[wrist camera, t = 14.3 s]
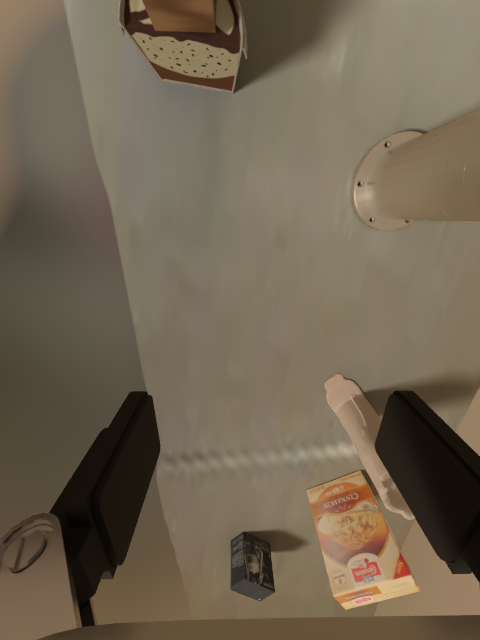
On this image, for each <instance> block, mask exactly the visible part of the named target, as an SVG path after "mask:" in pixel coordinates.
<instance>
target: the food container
mask: <svg viewBox="0 0 480 640" xmlns="http://www.w3.org/2000/svg"><path fill="white" fill-rule="evenodd" d="M118 21H119V28H120V31H121V33H122V35H123V36H124V30H125V32H126V33H127V34H128V36H129V37H130V39H131V40H132V41H133V43H134V44H135V45H136V47H137V48H138V50H139V51H140V52H141V54H142V55H143V56H144V58H145V59H146V61H147V62H148V63H149V65H150V66H151V67H152V69H153V70H154V72H155V73H156V74H157V76H158V77H159V78H160V80H161V81H167V82H172V83H178V84H184V85H189V86H195V87H200V88H206V89H212V90H217V91H223V92H228V93H234V88H235V83H236V78H237V73H238V68H239V63H240V58H241V53H242V50H243V51H244V55H245V58H246V59H247V50H248V44H247V31H246V26H245V21H244V16H243V12H242V8H241V5H240V2H239V0H215V21H216V33H209V32H178V31H155V29H154V27H153V24H152V22H151V20H150V17H149V15H148V13H147V11H146V8H145V6H144V4H143V1H142V0H120V2H119V13H118Z"/></svg>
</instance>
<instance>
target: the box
mask: <svg viewBox="0 0 480 640" xmlns="http://www.w3.org/2000/svg"><path fill="white" fill-rule="evenodd" d="M230 590H232V591H235V592H238V593H240V594H243V595H245V596H248V597H250V598H253V599H255V600H258V601H262V600H263V599H265V598H266V597H268V596H269V595H271V594H273V593H274V592H275V589H274V580H273V570H272V561H271V552H270V544H268V543H266V542H264V541H262V540H260V539H257V538H255V537H253V536H251V535H249V534H247V533H245V532H243V533H241V534H240V535H239V536H237V537H236V538H235V539H233V540H232V541H231V566H230Z"/></svg>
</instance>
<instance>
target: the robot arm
mask: <svg viewBox="0 0 480 640" xmlns="http://www.w3.org/2000/svg"><path fill="white" fill-rule="evenodd" d="M384 144H385V145H386V146H384ZM358 183H359V186H358ZM352 202H353V206H354V209H355V212H356V214H357V215H358V217H359V218H360V219H361V221H362V222H363V223H364V224H366V225H368V226H369V227H371V228H374V229H377V230H383V231H392V230H397V229H401V228H403V227H406V226H408V225H410V224H412V223H413V222H415V221H416V220H428V221H480V109H479V110H477V111H475V112H473V113H471V114H468V115H466V116H464V117H462V118H459V119H457V120H455V121H453V122H450V123H448V124H446V125H444V126H441V127H439V128H437V129H435V130H432V131H430V132H428V133H426V134H422V133H420V132H415V131H404V132H399V133H396V134H393V135H391V136H389V137H387V138H385V139H383V140H382V141H380V142H379V143H377V144H376V145H375V146H374V147H373V148H372V149H371V150H370V151H369V152H368V153H367V154H366V155H365V157H364V158H363V159H362V161H361V163H360V165H359V166H358V168H357V171H356V173H355V176H354V180H353V185H352ZM370 219H371V220H370ZM369 220H370V221H369ZM405 220H406V221H405ZM375 450H376V453H377V455H378V456H379V458H380V460H381V461H382V463H383V465H384V466H385V468H386V470H387V472H388V473H389V475H390V477H391V478H392V480H393V482H394V483H395V485H396V487H397V488H398V490H399V492H400V493H401V495H402V497H403V498H404V500H405V502H406V503H407V505H408V507H409V509H410V510H411V512H412V514H413V515H414V517H415V519H416V520H417V522H418V524H419V525H420V527H421V528H422V530H423V532H424V534H425V535H426V537H427V539H428V540H429V542H430V544H431V545H432V547H433V549H434V550H435V552H436V554H437V555H438V556H439V557H440V559H442V560H443V561H445V562H446V564H447V565H448V567H449V569H450V570H451V572H452V574H470V573H471V572H473V574H474V575H475V577H476V578H477V580H478V581H479V585H480V456H478V454H477V453H476V452H475V451H474V450H473V449H471V448H470V447H469V446H468V445H467V444H466V443H465V442H464V441H463V440H462V439H461V438H460V437H459V436H458V435H457V434H456V433H455V432H454V431H453V430H452V429H451V428H450V427H449V426H448V425H447V424H446V423H445V422H444V421H443V420H442V419H441V418H440V417H439V416H438V415H437V414H436V413H435V412H434V411H433V410H432V409H431V408H430V407H429V406H428V405H427V404H426V403H425V402H424V401H423V400H422V399H421V398H420V397H419V396H418V395H417V394H416V393H414V392H413V391H395V392H393V394H392V395H390V396H389V399H388V402H387V405H386V408H385V412H384V415H383V418H382V421H381V424H380V428H379V431H378V434H377V437H376V441H375ZM159 453H160V440H159V434H158V428H157V422H156V416H155V410H154V404H153V398H152V396H151V395H148V393H147V392H144V391H143V392H141V391H140V392H139V391H132V392H130V393H129V394H128V396H127V398H126V399H125V401H124V402H123V404H122V406H121V407H120V409H119V411H118V412H117V414H116V416H115V417H114V419H113V421H112V422H111V424H110V426H109V427H108V428H104V429H103V430H102V431H101V432H100V433H99V435H98V436H97V438H96V440H95V441H94V443H93V444H92V446H91V448H90V449H89V450H88V452H87V454H86V455H85V457H84V458H83V460H82V461H81V463H80V465H79V466H78V468H77V469H76V471H75V473H74V474H73V476H72V477H71V479H70V480H69V482H68V483H67V485H66V487H65V488H64V490H63V492H62V493H61V495H60V496H59V498H58V499H57V501H56V502H55V504H54V506H53V507H52V509H51V510H50V512H49V513H39V514H35V515H32V516H30V517H28V518H26V519H24V520H22V521H20V522H19V523H18V524H16V525H15V526H13V527H12V528H11V529H9V530H8V531H7V532H6V533H5V534H4V535H3V536H2V537H1V538H0V640H480V615H460V616H382V617H381V616H380V617H379V616H375V617H315V618H262V619H219V620H177V621H156V622H134V623H114V624H105V625H98V622H97V618H96V613H95V608H94V604H93V599H92V596H93V595H94V594H95V593H96V590H97V588H98V585H99V582H100V580H101V579H113V577H114V574H115V571H116V568H117V565H122V564H123V562H124V560H125V557H126V555H127V552H128V549H129V545H130V542H131V539H132V536H133V533H134V530H135V527H136V524H137V521H138V518H139V515H140V512H141V508H142V506H143V503H144V500H145V497H146V493H147V490H148V487H149V484H150V481H151V478H152V475H153V472H154V469H155V465H156V463H157V460H158V457H159Z"/></svg>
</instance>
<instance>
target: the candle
mask: <svg viewBox="0 0 480 640" xmlns="http://www.w3.org/2000/svg"><path fill="white" fill-rule="evenodd" d="M324 386H325V388H326V390H327V394H326V398H327V401H328V404H329V405H330V406H331V408H332V409H333V410H334V412H335V413H336V414H337V416H338V418H339V420H340V421H341V423H342V425H343V426H344V428H345V429H346V431H347V433H348V434H349V436H350V438H351V440H352V442H353V444H354V446H355V448H356V450H357V452H358V454H359V456H360V459H361V461H362V463H363V465H364V467H365V469H366V471H367V473H368V474H369V476H370V478H371V480H372V482H373V483H374V485H375V487H376V489H377V491H378V493H379V495H380V497H381V499H382V501H383V503H384V505H385V507H386V508H387V509H388V510H390V511H392V512H396V513H400V514H402V515H403V517H404V518H406V519H408V520H411V519H415V517H414V515H413V514H412V512H411V510H410V509H409V507H408V505H407V503H406V502H405V500H404V498H403V497H402V495H401V493H400V492H399V490H398V488H397V487H396V485H395V483H394V482H393V480H392V478H391V477H390V475H389V473H388V472H387V470H386V468H385V466H384V465H383V463H382V461H381V460H380V458H379V456H378V455H377V453H376V450H375V441H376V437H377V434H378V431H379V428H380V424H381V419H380V418H379V416H378V415H377V413H376V412H375V410H374V409H373V407H372V406H371V405H370V403H369V402H368V401H367V399H366V398H365V396H364V395H363V393H362V392H361V390H360V388H359V387H358V386H357V385H356V384H355V383H354V382H353V381H351V380H349V379H344V377H343V376H342V375H341V374H336V376H334V377H332V378H330V379H329V380H327V381H326V382H325V384H324Z"/></svg>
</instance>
